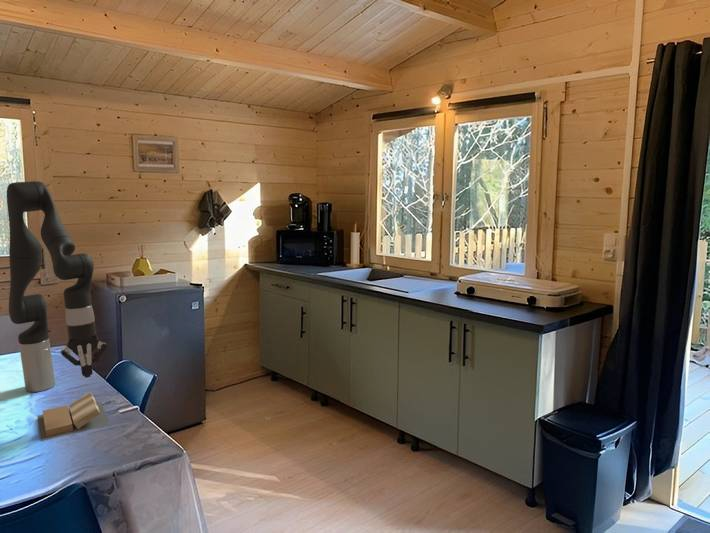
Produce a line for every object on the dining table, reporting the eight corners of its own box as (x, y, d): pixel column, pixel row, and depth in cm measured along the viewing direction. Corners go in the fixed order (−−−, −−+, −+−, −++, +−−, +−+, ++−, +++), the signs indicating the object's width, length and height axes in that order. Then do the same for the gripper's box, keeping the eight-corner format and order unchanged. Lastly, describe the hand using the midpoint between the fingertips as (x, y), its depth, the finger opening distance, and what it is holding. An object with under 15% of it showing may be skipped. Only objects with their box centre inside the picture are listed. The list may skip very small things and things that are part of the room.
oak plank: (72, 409, 175) (68, 405, 174) (93, 396, 178) (90, 391, 177) (77, 429, 161) (73, 423, 161) (100, 413, 164) (96, 408, 163)
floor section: (37, 417, 172) (36, 409, 171) (101, 403, 181) (100, 395, 180) (41, 443, 155) (39, 434, 154) (110, 426, 164) (109, 417, 164)
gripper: (102, 315, 172) (109, 368, 175) (54, 322, 165) (62, 378, 168) (106, 319, 166) (113, 375, 168) (56, 327, 159) (64, 385, 162)
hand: (87, 376), depth 168 cm, fingers closed
